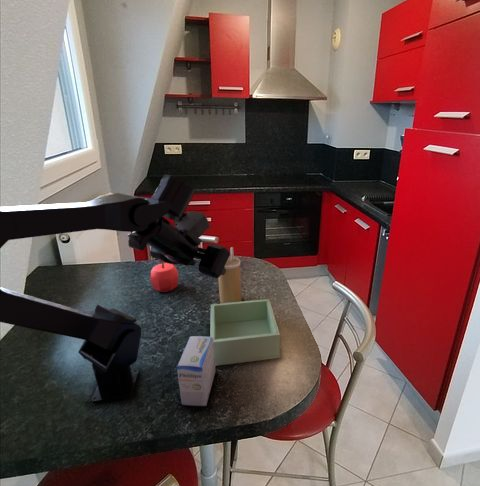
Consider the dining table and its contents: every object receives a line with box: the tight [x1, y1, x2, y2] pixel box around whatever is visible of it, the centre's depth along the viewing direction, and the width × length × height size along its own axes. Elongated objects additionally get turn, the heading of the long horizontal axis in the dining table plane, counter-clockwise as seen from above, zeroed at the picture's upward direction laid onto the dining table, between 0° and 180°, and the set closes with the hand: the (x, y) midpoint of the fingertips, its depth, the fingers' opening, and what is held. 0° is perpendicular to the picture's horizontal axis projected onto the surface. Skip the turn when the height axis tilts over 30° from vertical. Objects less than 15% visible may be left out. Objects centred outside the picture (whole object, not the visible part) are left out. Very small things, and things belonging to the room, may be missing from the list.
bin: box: [209, 298, 281, 367], centre depth 70 cm, size 14×14×6 cm
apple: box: [150, 262, 179, 293], centre depth 91 cm, size 8×8×8 cm
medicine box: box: [176, 335, 216, 407], centre depth 57 cm, size 8×4×9 cm, turn 178°
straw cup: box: [217, 246, 242, 304], centre depth 82 cm, size 6×6×15 cm
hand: (209, 267), depth 75 cm, fingers open, 9 cm apart
